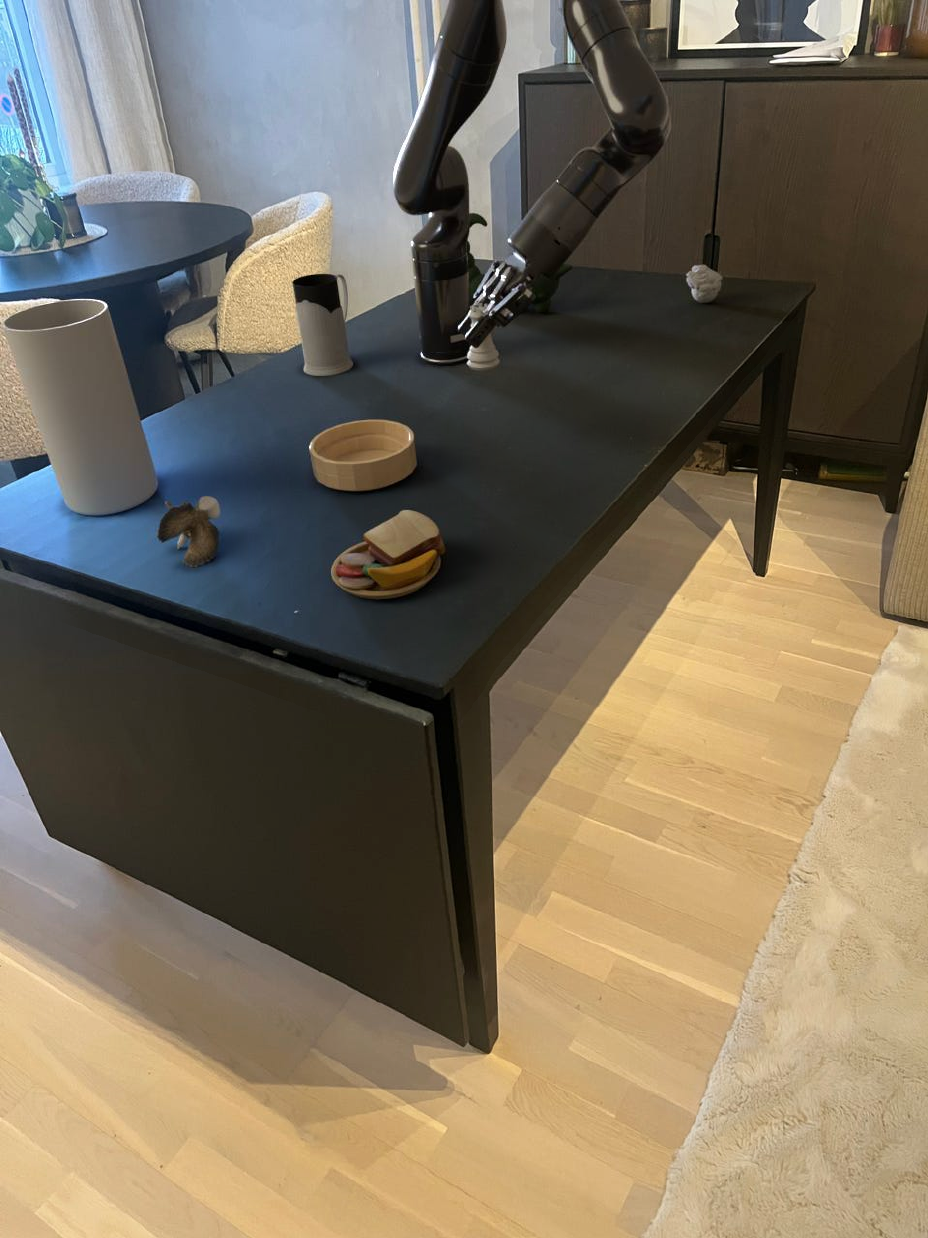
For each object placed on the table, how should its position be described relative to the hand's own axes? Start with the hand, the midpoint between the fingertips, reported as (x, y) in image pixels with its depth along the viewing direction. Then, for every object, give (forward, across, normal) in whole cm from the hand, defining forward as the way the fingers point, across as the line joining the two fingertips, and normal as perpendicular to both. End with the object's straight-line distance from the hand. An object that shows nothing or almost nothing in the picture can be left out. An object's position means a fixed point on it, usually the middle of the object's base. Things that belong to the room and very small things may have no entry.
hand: (467, 338), depth 125 cm
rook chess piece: (+2, 0, +4) cm, 5 cm away
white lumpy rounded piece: (-29, -46, +52) cm, 75 cm away
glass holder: (+22, -45, +1) cm, 50 cm away
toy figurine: (-4, -59, +27) cm, 65 cm away
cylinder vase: (+47, -4, -25) cm, 53 cm away
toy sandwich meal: (+23, +29, -1) cm, 37 cm away
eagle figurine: (+39, +15, -17) cm, 45 cm away
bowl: (+22, +2, 0) cm, 22 cm away
